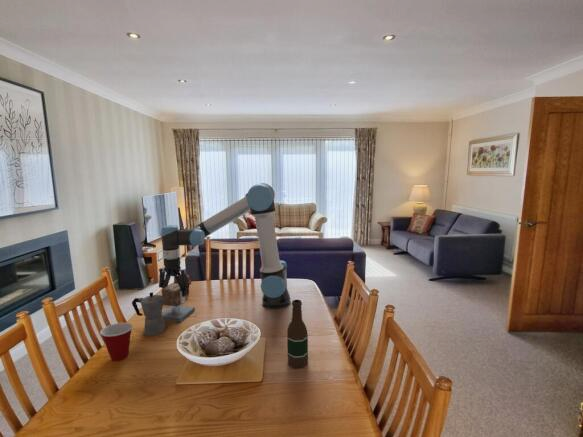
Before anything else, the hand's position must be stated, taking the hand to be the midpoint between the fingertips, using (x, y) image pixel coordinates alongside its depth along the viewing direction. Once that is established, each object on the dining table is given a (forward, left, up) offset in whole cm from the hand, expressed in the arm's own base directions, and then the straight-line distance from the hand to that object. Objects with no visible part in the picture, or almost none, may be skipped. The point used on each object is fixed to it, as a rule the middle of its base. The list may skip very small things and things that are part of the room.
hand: (175, 301), depth 143 cm
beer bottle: (-67, +23, -7) cm, 71 cm away
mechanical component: (+11, -22, -7) cm, 26 cm away
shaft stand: (0, 0, -7) cm, 7 cm away
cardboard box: (0, 0, 0) cm, 0 cm away
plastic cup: (+1, +34, -7) cm, 35 cm away
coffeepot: (+2, +15, -7) cm, 17 cm away
